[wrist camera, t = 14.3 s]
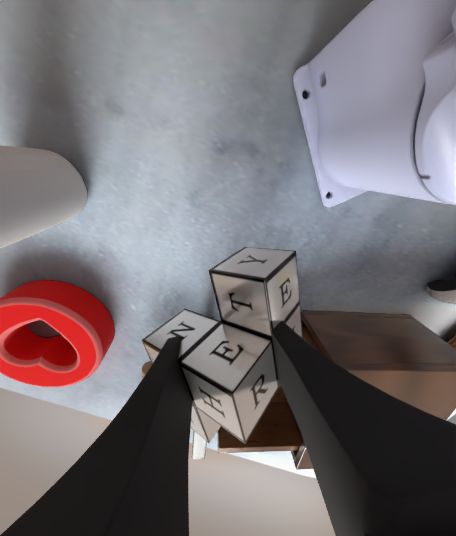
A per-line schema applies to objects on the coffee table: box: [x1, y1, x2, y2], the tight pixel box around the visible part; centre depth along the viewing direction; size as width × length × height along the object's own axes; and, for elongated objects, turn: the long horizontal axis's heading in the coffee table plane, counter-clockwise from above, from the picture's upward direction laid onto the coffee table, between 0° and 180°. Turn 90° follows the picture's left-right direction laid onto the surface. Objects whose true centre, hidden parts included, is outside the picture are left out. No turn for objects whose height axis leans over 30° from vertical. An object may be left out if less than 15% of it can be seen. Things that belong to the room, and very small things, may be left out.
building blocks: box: [142, 247, 302, 444], centre depth 11 cm, size 5×5×8 cm
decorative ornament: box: [0, 280, 115, 387], centre depth 20 cm, size 10×10×3 cm
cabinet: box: [291, 310, 456, 469], centre depth 23 cm, size 12×13×7 cm
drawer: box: [142, 317, 322, 459], centre depth 22 cm, size 16×12×6 cm
